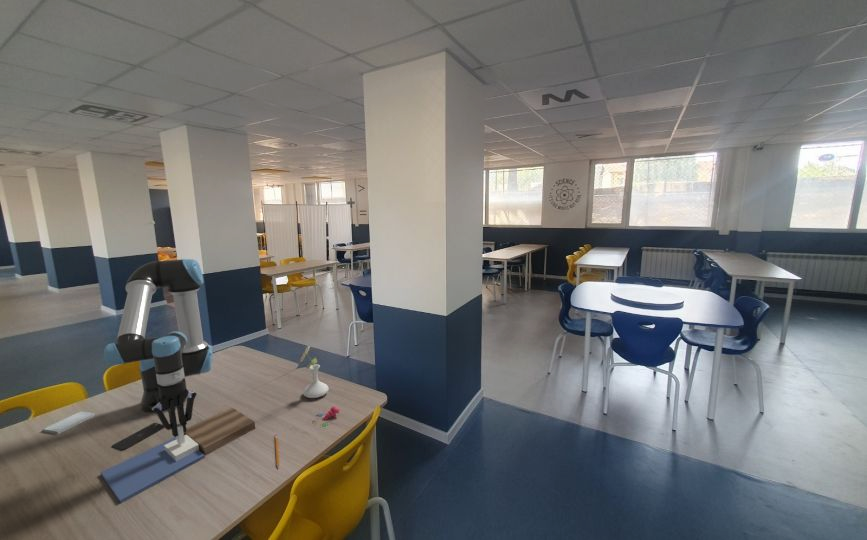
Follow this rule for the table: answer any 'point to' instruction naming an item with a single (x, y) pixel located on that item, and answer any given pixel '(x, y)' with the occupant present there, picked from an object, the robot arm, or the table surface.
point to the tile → (181, 448)
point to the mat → (145, 471)
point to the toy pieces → (329, 415)
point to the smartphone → (138, 436)
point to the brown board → (219, 430)
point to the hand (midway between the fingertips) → (181, 442)
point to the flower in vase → (314, 379)
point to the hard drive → (68, 422)
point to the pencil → (277, 451)
